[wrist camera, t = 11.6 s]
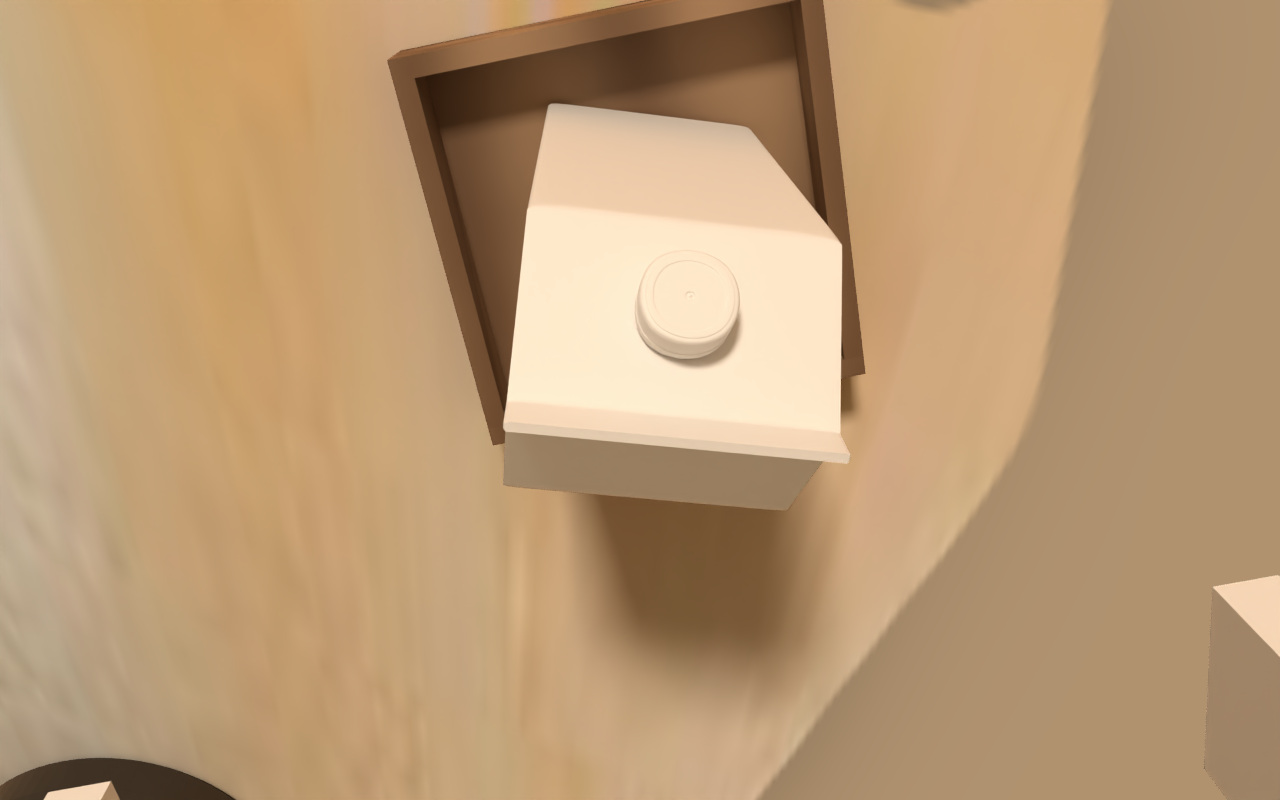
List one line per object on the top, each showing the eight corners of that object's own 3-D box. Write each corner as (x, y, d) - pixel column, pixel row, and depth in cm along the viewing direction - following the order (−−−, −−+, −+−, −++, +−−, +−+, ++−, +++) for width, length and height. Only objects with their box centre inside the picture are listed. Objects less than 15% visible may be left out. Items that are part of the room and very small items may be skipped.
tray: (498, 414, 43) (492, 445, 40) (400, 50, 37) (387, 60, 35) (848, 346, 42) (865, 373, 40) (803, -32, 37) (819, -29, 34)
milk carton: (719, 315, 41) (817, 604, 24) (530, 295, 40) (489, 577, 23) (750, 125, 38) (887, 294, 21) (548, 100, 38) (517, 254, 20)
